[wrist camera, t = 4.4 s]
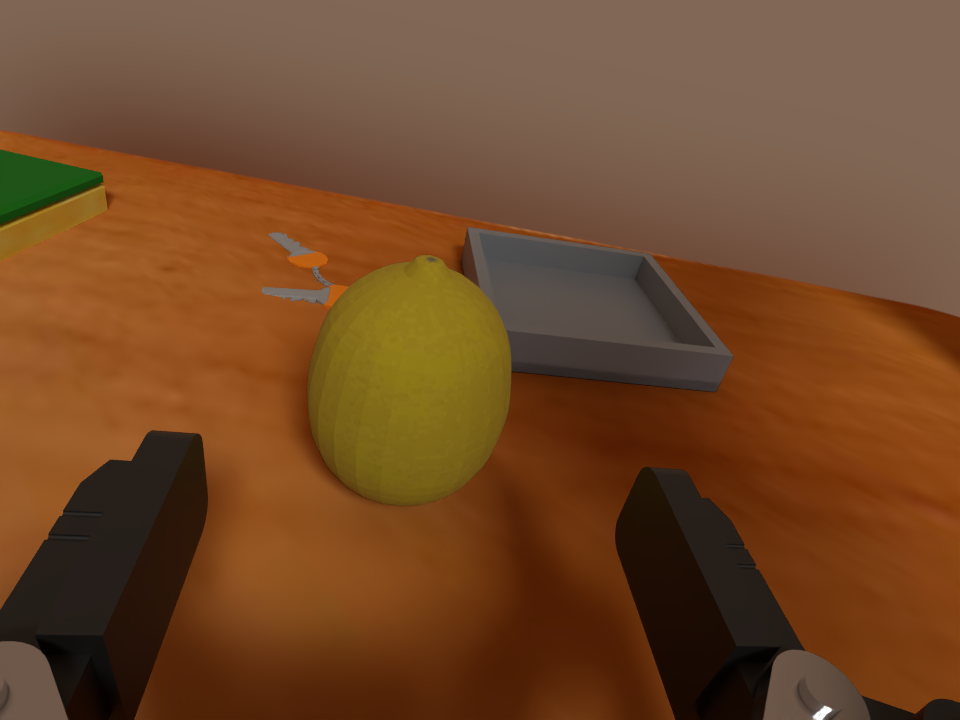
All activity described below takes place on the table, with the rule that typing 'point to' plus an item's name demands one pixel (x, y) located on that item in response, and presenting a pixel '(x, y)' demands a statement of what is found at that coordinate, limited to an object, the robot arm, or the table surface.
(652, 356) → the tray
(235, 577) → the table surface
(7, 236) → the dish sponge
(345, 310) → the lemon
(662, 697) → the table surface
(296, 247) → the key chain
